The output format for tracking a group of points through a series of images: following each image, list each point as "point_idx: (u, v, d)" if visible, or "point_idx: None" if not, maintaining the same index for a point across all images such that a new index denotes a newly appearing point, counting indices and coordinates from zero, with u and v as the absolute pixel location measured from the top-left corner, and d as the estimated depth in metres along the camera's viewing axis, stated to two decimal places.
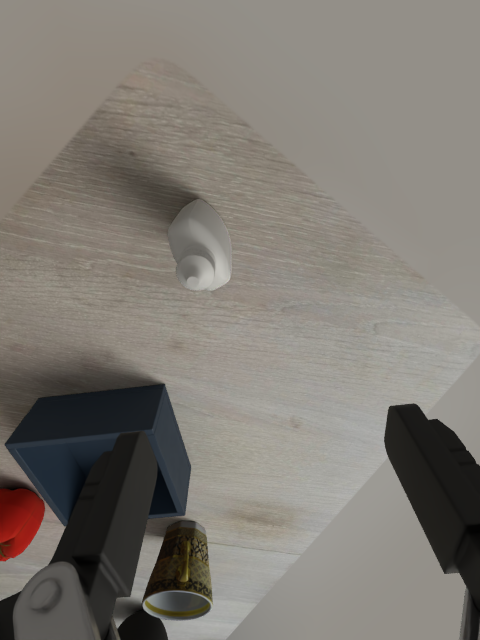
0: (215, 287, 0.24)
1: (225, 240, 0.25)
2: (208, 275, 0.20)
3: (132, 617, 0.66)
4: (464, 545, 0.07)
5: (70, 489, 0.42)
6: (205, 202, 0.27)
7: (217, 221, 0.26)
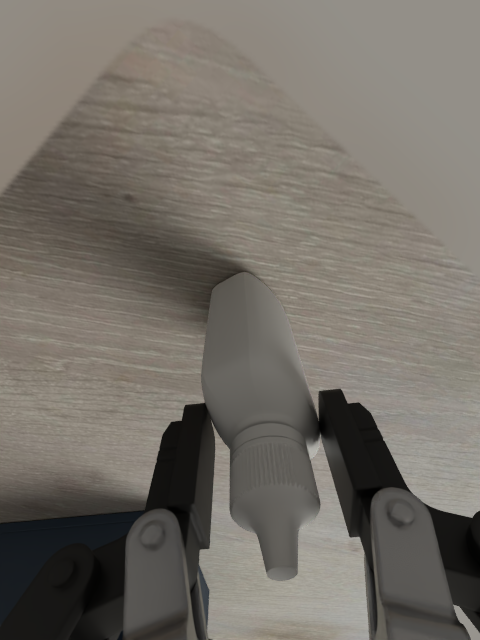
0: None
1: (300, 360, 0.14)
2: (307, 519, 0.08)
3: None
4: (359, 509, 0.08)
5: None
6: (255, 278, 0.16)
7: (281, 320, 0.14)
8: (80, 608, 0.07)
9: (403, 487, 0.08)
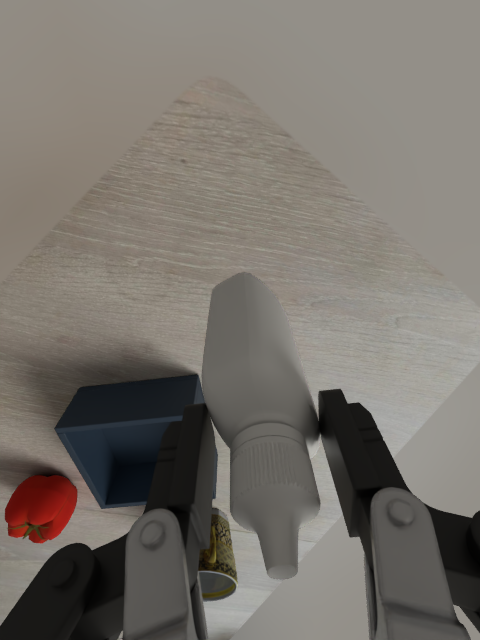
0: None
1: (300, 360, 0.14)
2: (307, 518, 0.08)
3: None
4: (359, 509, 0.08)
5: (106, 474, 0.44)
6: (255, 278, 0.16)
7: (282, 320, 0.15)
8: (80, 608, 0.07)
9: (403, 487, 0.08)
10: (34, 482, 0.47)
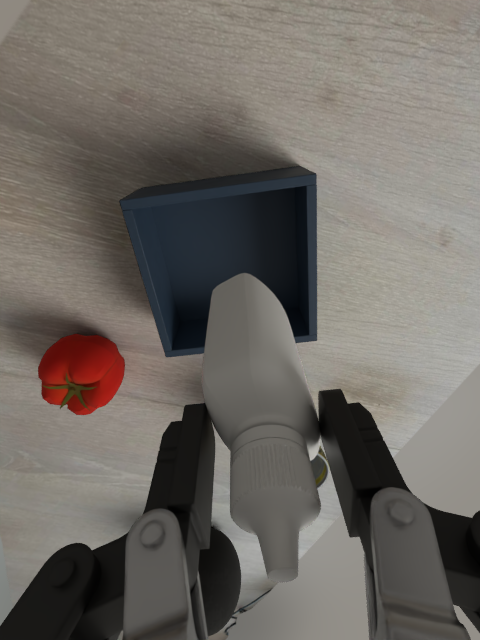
0: None
1: (300, 361, 0.14)
2: (308, 521, 0.08)
3: None
4: (359, 509, 0.08)
5: (171, 316, 0.34)
6: (255, 279, 0.16)
7: (282, 321, 0.15)
8: (80, 608, 0.07)
9: (403, 487, 0.08)
10: (74, 336, 0.37)
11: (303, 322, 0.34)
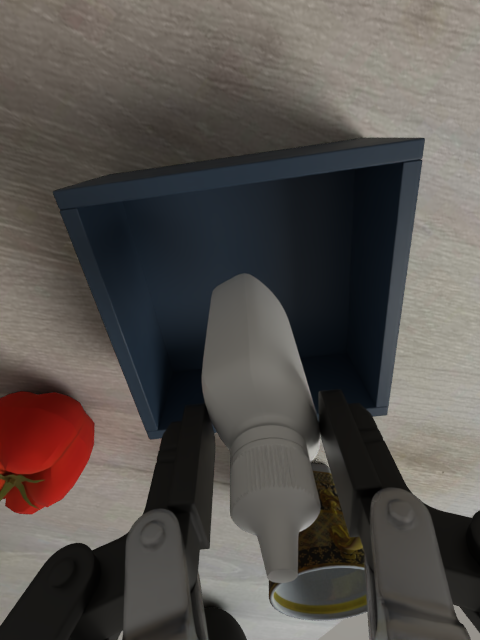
0: None
1: (300, 362, 0.14)
2: (307, 521, 0.08)
3: None
4: (359, 509, 0.08)
5: (157, 373, 0.22)
6: (255, 279, 0.16)
7: (282, 321, 0.15)
8: (80, 608, 0.07)
9: (403, 487, 0.08)
10: (15, 398, 0.25)
11: (360, 381, 0.22)
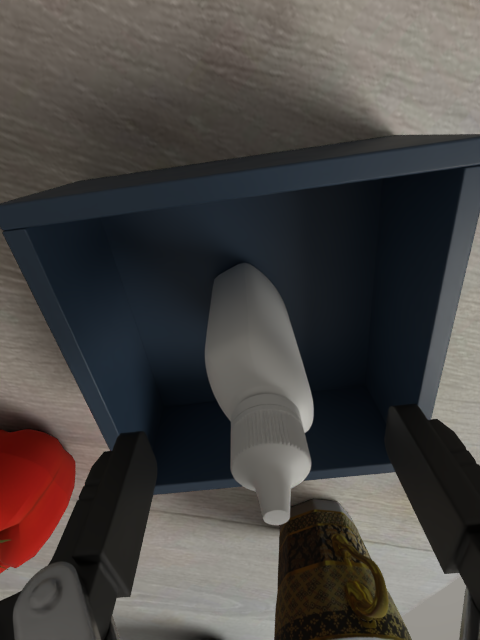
0: None
1: (296, 344, 0.15)
2: (299, 476, 0.09)
3: None
4: (464, 544, 0.07)
5: (143, 416, 0.19)
6: (255, 268, 0.17)
7: (279, 306, 0.16)
8: None
9: None
10: None
11: (384, 424, 0.19)
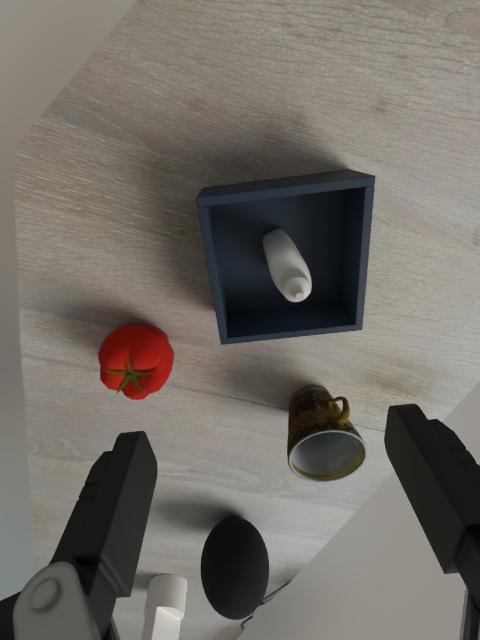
0: None
1: None
2: (306, 291, 0.27)
3: (226, 520, 0.61)
4: (464, 545, 0.07)
5: (224, 307, 0.37)
6: (283, 231, 0.35)
7: None
8: None
9: None
10: (130, 326, 0.39)
11: (347, 313, 0.37)
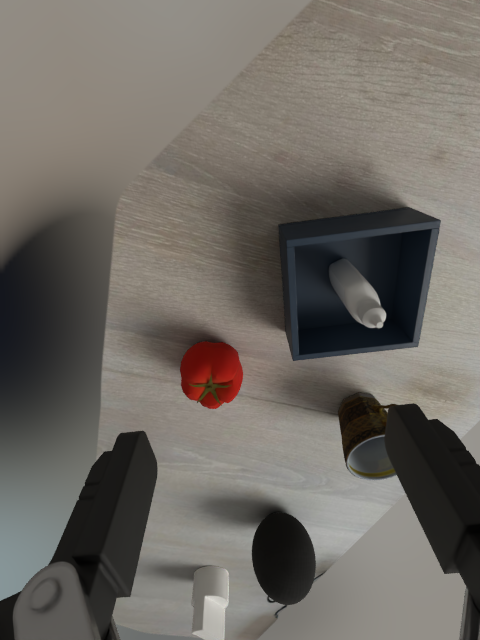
0: None
1: None
2: (383, 319, 0.32)
3: (273, 515, 0.66)
4: (464, 545, 0.07)
5: None
6: None
7: None
8: None
9: None
10: (207, 343, 0.44)
11: (402, 331, 0.42)
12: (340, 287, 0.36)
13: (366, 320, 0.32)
